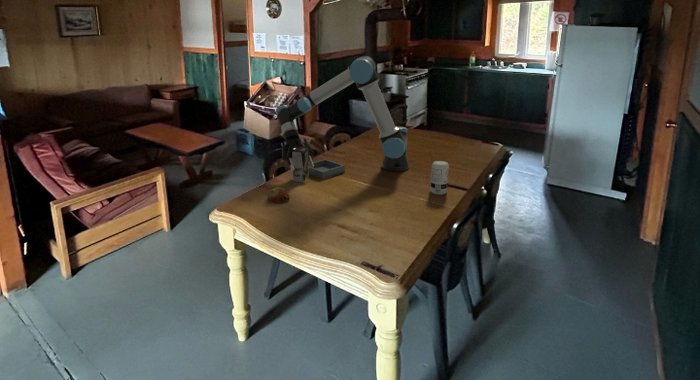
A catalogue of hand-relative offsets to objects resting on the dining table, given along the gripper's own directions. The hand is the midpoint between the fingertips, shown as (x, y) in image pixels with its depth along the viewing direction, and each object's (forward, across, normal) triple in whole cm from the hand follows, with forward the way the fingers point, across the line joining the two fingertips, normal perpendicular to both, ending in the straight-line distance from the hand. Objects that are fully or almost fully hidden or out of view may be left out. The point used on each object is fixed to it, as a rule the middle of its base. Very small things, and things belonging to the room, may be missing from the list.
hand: (303, 168), depth 256 cm
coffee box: (+3, 0, -7) cm, 7 cm away
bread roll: (+18, +21, +8) cm, 29 cm away
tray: (0, -16, -10) cm, 18 cm away
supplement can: (+38, -52, +28) cm, 70 cm away
